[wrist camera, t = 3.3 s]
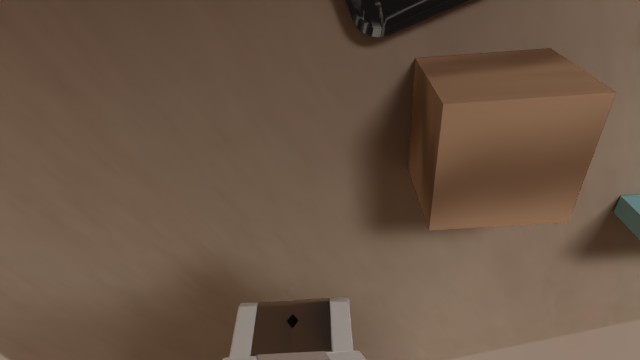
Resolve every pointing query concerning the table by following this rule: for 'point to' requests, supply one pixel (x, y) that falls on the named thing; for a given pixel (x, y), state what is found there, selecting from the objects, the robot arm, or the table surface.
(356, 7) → the phone
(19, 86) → the table surface
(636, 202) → the box
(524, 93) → the walnut block
